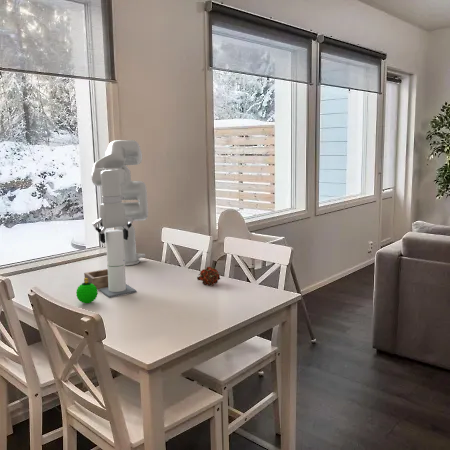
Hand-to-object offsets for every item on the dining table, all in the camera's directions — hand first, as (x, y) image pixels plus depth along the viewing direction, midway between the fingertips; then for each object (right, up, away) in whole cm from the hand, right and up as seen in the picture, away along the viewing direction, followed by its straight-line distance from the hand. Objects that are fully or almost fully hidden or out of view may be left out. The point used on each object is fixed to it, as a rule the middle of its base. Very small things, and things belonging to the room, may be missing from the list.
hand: (114, 240), depth 198 cm
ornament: (-8, -24, -10) cm, 28 cm away
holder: (-9, -20, +14) cm, 26 cm away
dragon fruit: (+39, -20, +11) cm, 45 cm away
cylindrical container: (0, -21, +3) cm, 21 cm away
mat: (0, -21, +3) cm, 22 cm away
